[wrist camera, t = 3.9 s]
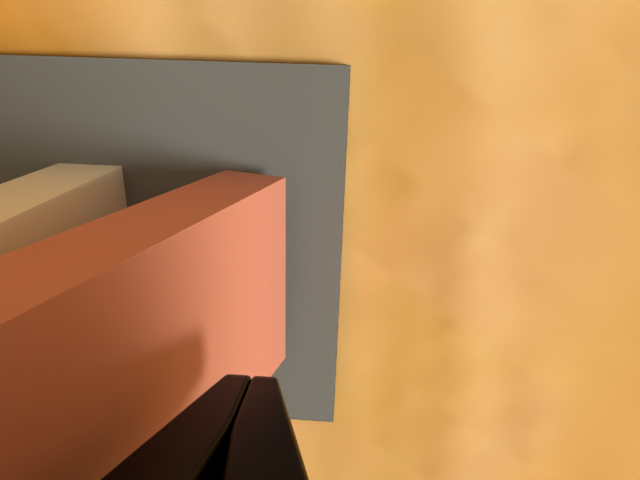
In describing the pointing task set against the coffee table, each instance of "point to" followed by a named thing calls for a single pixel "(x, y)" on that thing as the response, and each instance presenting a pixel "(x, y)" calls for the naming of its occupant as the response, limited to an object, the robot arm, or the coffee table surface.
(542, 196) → the coffee table surface
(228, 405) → the robot arm
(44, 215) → the domino
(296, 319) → the mat
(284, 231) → the domino
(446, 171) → the coffee table surface
